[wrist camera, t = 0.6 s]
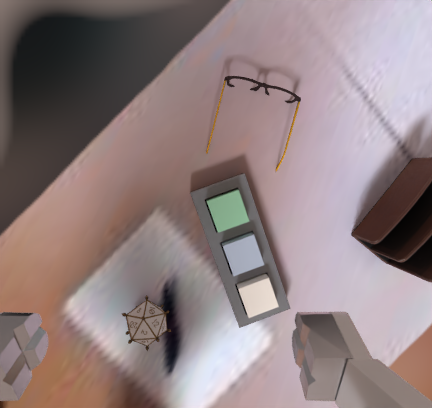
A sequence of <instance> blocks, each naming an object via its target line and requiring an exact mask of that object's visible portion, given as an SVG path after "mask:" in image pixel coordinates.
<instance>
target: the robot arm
mask: <svg viewBox="0 0 432 408" xmlns="http://www.w3.org/2000/svg"><path fill="white" fill-rule="evenodd" d="M41 323H42V320H41V317H40V315H39V314H37V313H12V312H3V313H2V312H0V401H12V400H19V399H20V397H21V395H22V394H23V392H24V390H25V389H26V387H27V385H28V384H29V382H30V380H31V379H32V373H31V370H32V369H34V368H35V367H36V366H38V365H39V364H40V363H41V362H42V360H43V358H44V356H45V354H46V351H47V347H48V336H47V333H46V331H45V330H43V329H42V328H41V327H39V326H40V324H41ZM295 324H296V327H297V328H296V329H295V330H294V331H293V336H292V347H293V354H294V358H295V362H296V364H297V365H298V366H299V367H300V368H301V372H300V381H301V385H302V388H303V392H304V396H305V399H306V400H314V401H336V402H335V403H336V404H337V406H338V407H339V408H432V401H431V400H429V399H428V398H427V397H425V396H424V395H423V394H422V393H420V392H419V391H418V390H417V389H415V388H414V387H413V386H411V385H410V384H409V383H408V382H406V381H405V380H404V379H402V378H401V377H400V376H399V375H397V374H396V373H395V372H394V371H392V370H391V369H390V368H388V367H387V366H386V365H385V364H383V363H382V362H381V361H380V360H378V359H372V357H371V355H370V353H369V351H368V349H367V348H366V346H365V344H364V342H363V340H362V338H361V336H360V335H359V333H358V331H357V329H356V327H355V325H354V323H353V322H352V320H351V318H350V316H349V314H348V313H346V312H297V314H296V317H295Z"/></svg>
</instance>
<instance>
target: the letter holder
mask: <svg viewBox="0 0 432 408" xmlns="http://www.w3.org/2000/svg"><path fill="white" fill-rule="evenodd" d="M352 236H353V237H354V238H355V239H356V240H358V241H359V242H360V243H361V244H363V245H364V246H365V247H366V248H368V249H369V250H370V251H371V252H372V253H374V254H375V255H376V256H377V257H379V258H380V259H381V260H382V261H384V262H385V263H386V264H389V265H392V266H394V267H396V268H398V269H401V270H403V271H405V272H407V273H410V274H412V275H414V276H417V277H419V278H421V279H423V280H426V281H428V282H432V158H416V159H412V160H411V161H410V163H409V164H408V165H407V166H406V167H405V169H404V170H403V171H402V172H401V174H400V175H399V176H398V177H397V179H396V180H395V181H394V182H393V184H392V185H391V186H390V187H389V188H388V190H387V191H386V192H385V193H384V195H383V196H382V197H381V198H380V200H379V201H378V202H377V203H376V205H375V206H374V207H373V208H372V209H371V211H370V212H369V213H368V215H367V216H366V217H365V218H364V219H363V221H362V222H361V223H360V225H359V226H358V227H357V228H356V229H355V231H354V232H353V233H352Z"/></svg>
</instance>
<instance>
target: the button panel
mask: <svg viewBox="0 0 432 408" xmlns="http://www.w3.org/2000/svg"><path fill="white" fill-rule="evenodd" d="M235 188H236V189H237V190H239V193H240V195H241V198H242V201H243V204H244V207H245V210H246V213H247V216H248V219H249V222H246V223H244V224H241V225H238V226H235V227H233V228H230V229H227V230H224V231H222V232H219V233H218V231H217V229H216V230H215V228H214V225H213V222H212V220H211V217H210V214H209V211H208V208H207V206H206V203H205V200H204V199H207V198H210V197H212V196H215V195H218V194H221V193H224V192H226V191H229V190H232V189H235ZM190 194H191V196H192V199H193V202H194V205H195V207H196V210H197V213H198V216H199V218H200V221H201V224H202V226H203V229H204V232H205V235H206V237H207V240H208V243H209V246H210V248H211V251H212V254H213V257H214V259H215V262H216V265H217V268H218V270H219V273H220V276H221V279H222V281H223V284H224V287H225V289H226V292H227V295H228V298H229V300H230V303H231V306H232V309H233V311H234V314H235V317H236V320H237V322H238V325H239V328H240V327H243V326H246V325H248V324H251V323H254V322H256V321H259V320H262V319H264V318H267V317H270V316H272V315H275V314H278V313H280V312H283V311H285V310H288V309H290V306H289V303H288V300H287V297H286V294H285V291H284V288H283V285H282V282H281V279H280V276H279V273H278V270H277V267H276V264H275V261H274V258H273V256H272V253H271V250H270V247H269V244H268V241H267V238H266V235H265V232H264V229H263V226H262V223H261V220H260V217H259V214H258V211H257V208H256V205H255V202H254V199H253V197H252V194H251V191H250V188H249V185H248V182H247V179H246V176H245V173H242V174H239V175H236V176H234V177H231V178H228V179H225V180H222V181H220V182H217V183H214V184H211V185H208V186H206V187H203V188H200V189H197V190H195V191H192V192H190ZM250 231H251V232H252V233H253V234H254V236H255V239H256V242H257V245H258V248H259V251H260V254H261V256H262V259H263V262H264V265H263V266H260V267H257V268H255V269H252V270H249V271H247V272H244V273H241V274H239V275H236V276H233V273H232V271H231V269H229V267H228V264H227V261H226V258H225V256H224V253H223V250H222V247H221V245H220V242H223V241H225V240H228V239H231V238H234V237H236V236H239V235H242V234H245V233H247V232H250ZM263 273H266V275H267V276H268V277H269V280H270V283H271V286H272V288H273V291H274V294H275V297H276V300H277V303H278V306H279V307H277V308H274V309H272V310H269V311H266V312H264V313H261V314H259V315H256V316H253V317H251V318H249V317H248V315H247V312H246V309H245V307H244V308H243V306H242V303H241V300H240V297H239V295H238V292H237V289H236V286H235V284H236V283H239V282H242V281H245V280H247V279H250V278H253V277H255V276H258V275H261V274H263Z"/></svg>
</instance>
